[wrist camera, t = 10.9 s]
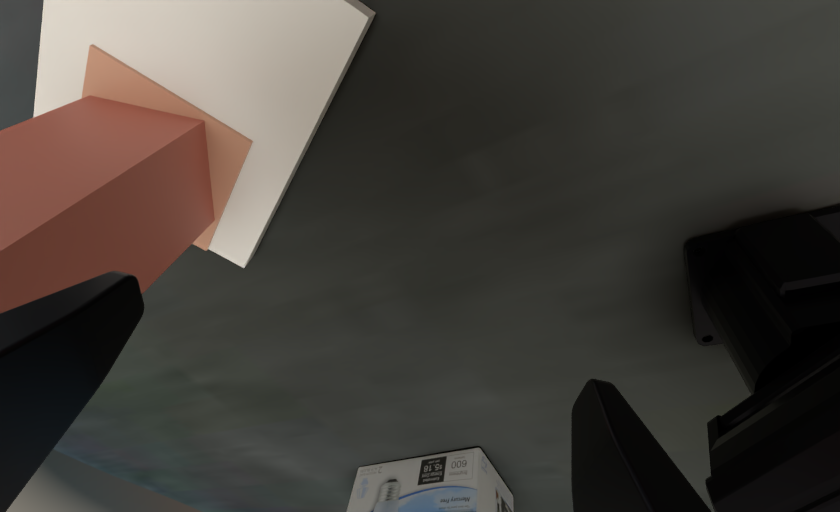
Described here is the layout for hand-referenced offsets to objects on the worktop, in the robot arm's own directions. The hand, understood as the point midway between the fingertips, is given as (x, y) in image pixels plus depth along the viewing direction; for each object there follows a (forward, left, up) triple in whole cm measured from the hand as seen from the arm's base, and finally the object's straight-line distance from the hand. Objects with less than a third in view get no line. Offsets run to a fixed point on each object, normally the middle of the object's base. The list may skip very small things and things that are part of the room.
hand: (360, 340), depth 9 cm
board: (+5, +9, -13) cm, 17 cm away
